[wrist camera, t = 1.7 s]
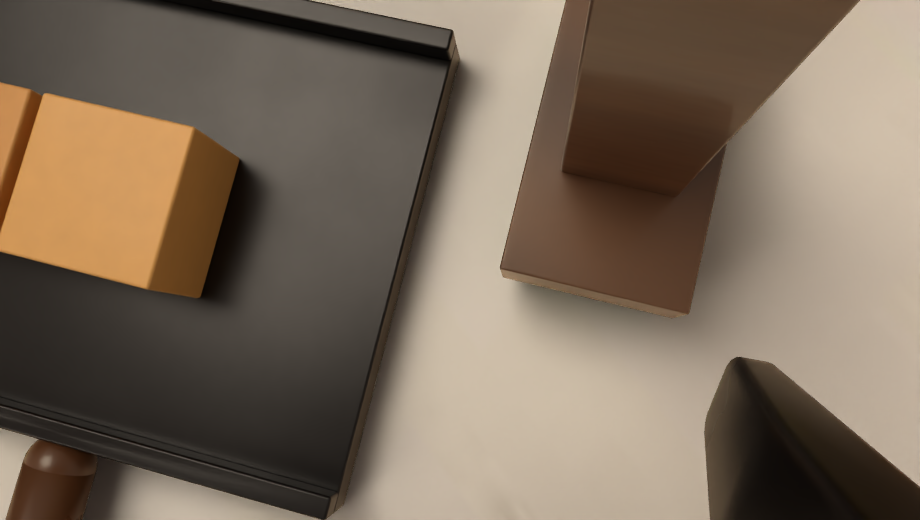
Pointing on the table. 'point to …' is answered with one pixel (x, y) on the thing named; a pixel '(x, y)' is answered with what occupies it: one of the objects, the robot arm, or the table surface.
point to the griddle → (227, 247)
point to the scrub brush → (646, 139)
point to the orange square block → (14, 136)
